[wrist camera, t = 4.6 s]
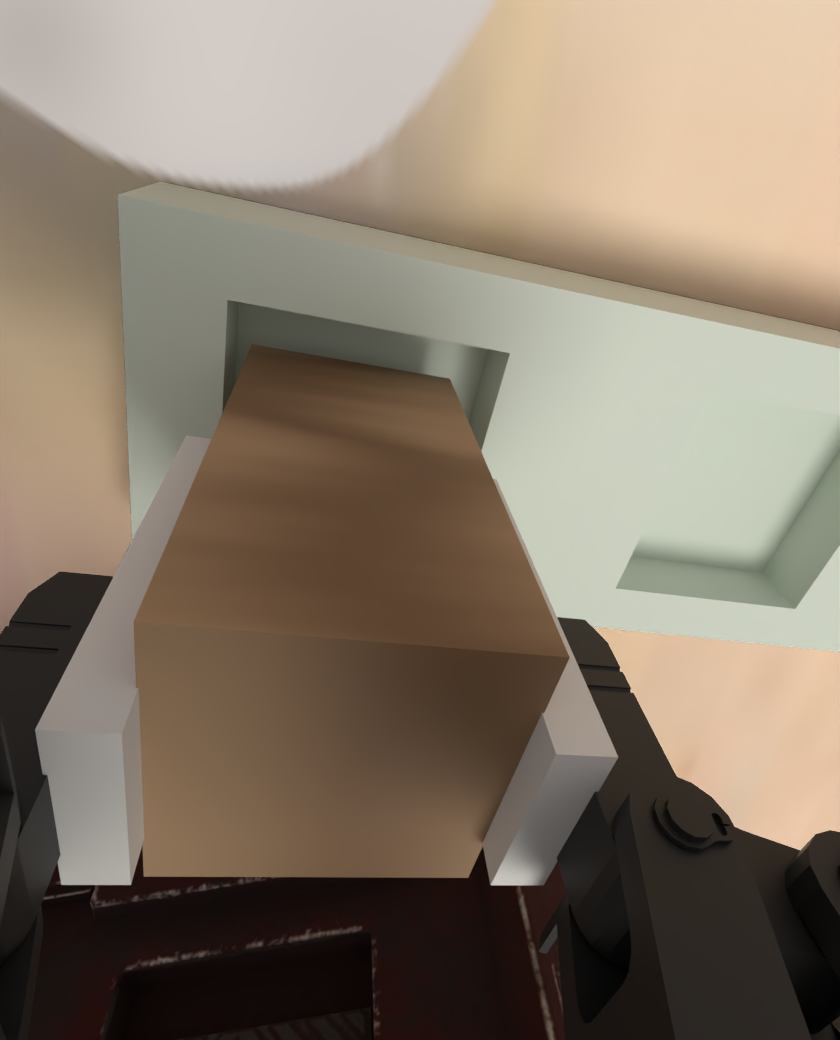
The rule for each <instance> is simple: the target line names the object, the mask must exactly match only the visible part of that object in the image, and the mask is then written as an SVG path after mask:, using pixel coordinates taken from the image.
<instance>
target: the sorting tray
mask: <svg viewBox="0 0 840 1040" xmlns="http://www.w3.org/2000/svg"><path fill="white" fill-rule="evenodd" d="M117 196H118V219H119V243H120V267H121V291H122V314H123V338H124V362H125V385H126V409H127V433H128V457H129V480H130V504H131V528H132V540H133V538H134V536H135V534H136V532H137V530H138V528H139V526H140V524H141V522H142V520H143V518H144V517H145V515H146V513H147V511H148V509H149V507H150V505H151V503H152V501H153V499H154V497H155V495H156V493H157V491H158V489H159V487H160V485H161V483H162V481H163V480H164V478H165V476H166V474H167V472H168V470H169V468H170V466H171V464H172V462H173V460H174V458H175V456H176V454H177V452H178V450H179V448H180V446H181V444H182V443H183V441H184V439H185V437H186V435H187V436H194V437H201V438H208V439H212V437H213V434H214V432H215V430H216V427H217V425H218V423H219V420H220V418H221V416H222V413H223V411H224V409H225V406H226V404H227V401H228V399H229V397H230V394H231V392H232V390H233V387H234V385H235V383H236V380H237V378H238V376H239V373H240V371H241V369H242V366H243V364H244V362H245V359H246V357H247V355H248V352H249V350H250V348H251V345H252V344H253V345H259V346H265V347H271V348H276V349H282V350H288V351H294V352H299V353H305V354H311V355H317V356H322V357H328V358H334V359H340V360H345V361H351V362H357V363H363V364H368V365H374V366H380V367H386V368H391V369H397V370H403V371H409V372H414V373H420V374H426V375H432V376H438V377H443V378H449V379H450V380H451V383H452V385H453V387H454V390H455V392H456V394H457V397H458V399H459V401H460V404H461V406H462V408H463V410H464V413H465V415H466V417H467V420H468V422H469V424H470V427H471V429H472V431H473V434H474V436H475V438H476V441H477V443H478V445H479V448H480V450H481V452H482V455H483V457H484V459H485V462H486V464H487V466H488V469H489V471H490V473H491V476H492V478H493V479H497V482H498V484H499V486H500V488H501V491H502V493H503V495H504V498H505V500H506V502H507V504H508V507H509V509H510V511H511V514H512V516H513V518H514V520H515V523H516V525H517V527H518V530H519V532H520V534H521V536H522V539H523V541H524V543H525V546H526V548H527V550H528V552H529V555H530V557H531V559H532V561H533V564H534V566H535V568H536V571H537V573H538V575H539V577H540V580H541V582H542V584H543V587H544V589H545V591H546V593H547V596H548V598H549V600H550V603H551V605H552V607H553V609H554V612H555V614H556V616H557V617H562V618H573V619H583V620H586V621H587V622H588V623H589V624H590V625H591V626H592V627H599V628H608V629H618V630H628V631H638V632H648V633H658V634H668V635H678V636H688V637H698V638H708V639H718V640H728V641H738V642H747V643H757V644H767V645H777V646H787V647H797V648H807V649H817V650H827V651H837V652H840V331H837V330H833V329H828V328H824V327H819V326H814V325H810V324H805V323H801V322H796V321H792V320H787V319H783V318H778V317H774V316H769V315H765V314H760V313H755V312H751V311H746V310H742V309H737V308H733V307H728V306H724V305H719V304H715V303H710V302H706V301H701V300H696V299H692V298H687V297H683V296H678V295H674V294H669V293H665V292H660V291H656V290H651V289H646V288H642V287H637V286H633V285H628V284H624V283H619V282H615V281H610V280H606V279H601V278H597V277H592V276H587V275H583V274H578V273H574V272H569V271H565V270H560V269H556V268H551V267H547V266H542V265H538V264H533V263H528V262H524V261H519V260H515V259H510V258H506V257H501V256H497V255H492V254H488V253H483V252H478V251H474V250H469V249H465V248H460V247H456V246H451V245H447V244H442V243H438V242H433V241H429V240H424V239H419V238H415V237H410V236H406V235H401V234H397V233H392V232H388V231H383V230H379V229H374V228H370V227H365V226H360V225H356V224H351V223H347V222H342V221H338V220H333V219H329V218H324V217H320V216H315V215H311V214H306V213H301V212H297V211H292V210H288V209H283V208H279V207H274V206H270V205H265V204H261V203H256V202H251V201H247V200H242V199H238V198H233V197H229V196H224V195H220V194H215V193H211V192H206V191H202V190H197V189H192V188H188V187H183V186H179V185H174V184H170V183H165V182H157V183H154V184H150V185H147V186H144V187H140V188H137V189H134V190H130V191H127V192H124V193H120V194H117Z"/></svg>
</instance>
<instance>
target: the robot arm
mask: <svg viewBox="0 0 840 1040" xmlns="http://www.w3.org/2000/svg"><path fill="white" fill-rule="evenodd" d="M210 441H211V439H208V438H201V437H194V436H187V435H186V437H185V439H184V441H183V443H182V444H181V446H180V448H179V450H178V452H177V454H176V456H175V458H174V460H173V462H172V464H171V466H170V468H169V470H168V472H167V474H166V476H165V478H164V480H163V481H162V483H161V485H160V487H159V489H158V491H157V493H156V495H155V497H154V499H153V501H152V503H151V505H150V507H149V509H148V511H147V513H146V515H145V517H144V518H143V520H142V522H141V524H140V526H139V528H138V530H137V532H136V534H135V536H134V538H133V540H132V542H131V544H130V546H129V548H128V550H127V552H126V554H125V555H124V557H123V559H122V561H121V563H120V565H119V567H118V569H117V571H116V573H115V575H114V577H111V576H101V575H90V574H80V573H69V572H59V573H57V574H56V575H54V576H53V577H52V578H50V579H49V580H47V581H46V582H44V583H43V584H41V585H40V586H38V587H37V588H35V589H34V590H33V591H31V592H30V593H28V595H27V596H26V598H25V599H24V601H23V602H22V604H21V605H20V606H19V608H18V609H17V611H16V612H15V614H14V615H13V617H12V618H11V620H10V624H9V627H8V626H6V627H5V629H4V630H3V632H2V633H1V634H0V1040H28V1034H29V1027H30V1020H31V1013H32V1006H33V999H34V992H35V985H36V978H37V971H38V964H39V957H40V950H41V943H42V937H43V918H42V908H41V903H42V901H43V898H44V895H45V893H46V890H47V888H48V885H49V883H50V880H51V877H52V875H53V872H54V870H55V867H56V865H57V862H58V868H59V874H60V880H61V885H131V883H132V880H133V876H134V872H135V869H136V865H137V862H138V858H139V855H140V851H141V847H142V844H143V840H144V820H143V793H142V766H141V740H140V713H139V688H136V672H135V647H134V619H135V617H136V615H137V612H138V610H139V608H140V605H141V603H142V601H143V598H144V596H145V594H146V591H147V589H148V587H149V584H150V582H151V580H152V577H153V575H154V573H155V570H156V568H157V565H158V563H159V561H160V558H161V556H162V554H163V551H164V549H165V547H166V544H167V542H168V540H169V537H170V535H171V533H172V530H173V528H174V526H175V523H176V521H177V519H178V516H179V514H180V512H181V509H182V507H183V505H184V502H185V500H186V498H187V495H188V493H189V491H190V488H191V486H192V483H193V481H194V479H195V476H196V474H197V472H198V469H199V467H200V465H201V462H202V460H203V458H204V455H205V453H206V451H207V448H208V446H209V444H210ZM493 480H494V483H495V485H496V487H497V490H498V492H499V494H500V497H501V499H502V501H503V504H504V506H505V508H506V510H507V513H508V515H509V517H510V520H511V522H512V524H513V527H514V529H515V531H516V534H517V536H518V538H519V541H520V543H521V545H522V548H523V550H524V552H525V555H526V557H527V559H528V562H529V564H530V566H531V569H532V571H533V573H534V576H535V578H536V580H537V583H538V585H539V587H540V590H541V592H542V594H543V597H544V599H545V601H546V604H547V606H548V608H549V610H550V613H551V615H552V617H553V620H554V622H555V624H556V627H557V629H558V631H559V634H560V636H561V638H562V641H563V643H564V645H565V648H566V650H567V652H568V655H569V657H570V658H569V660H568V662H567V665H566V667H565V669H564V671H563V673H562V675H561V678H560V680H559V682H558V684H557V686H556V688H555V691H554V693H553V695H552V697H551V699H550V701H549V704H548V706H547V708H546V710H545V712H544V713H542V714H541V716H540V719H539V721H538V723H537V725H536V727H535V729H534V732H533V734H532V736H531V738H530V740H529V743H528V745H527V747H526V749H525V751H524V753H523V756H522V758H521V760H520V762H519V764H518V767H517V769H516V771H515V773H514V775H513V777H512V780H511V782H510V784H509V786H508V788H507V791H506V793H505V795H504V797H503V799H502V801H501V804H500V806H499V808H498V810H497V812H496V815H495V817H494V819H493V821H492V823H491V825H490V828H489V830H488V832H487V834H486V836H485V839H484V841H483V843H482V844H483V849H484V854H485V860H486V865H487V870H488V875H489V880H490V885H544V884H545V882H546V880H547V879H548V877H549V875H550V873H551V872H552V870H553V868H554V867H555V865H556V863H557V861H558V865H559V868H560V871H561V875H562V878H563V882H564V885H565V889H566V892H567V893H566V894H565V896H564V898H563V899H562V901H561V902H560V904H559V906H558V907H557V909H556V910H555V912H554V914H553V915H552V917H551V918H550V920H549V922H548V923H547V925H546V926H545V928H544V929H543V931H542V933H541V936H540V943H539V950H538V952H541V953H545V954H547V952H548V951H549V949H550V948H551V946H552V945H553V943H554V942H555V940H556V938H557V937H558V950H559V952H558V957H559V964H560V978H561V992H562V1006H563V1019H564V1033H565V1040H840V832H836V831H831V830H830V831H826V832H823V833H819V834H816V835H815V836H814V837H813V838H812V839H811V840H810V841H809V842H808V843H807V844H806V845H805V846H804V847H803V849H802V850H801V851H800V850H797V849H794V848H791V847H788V846H785V845H783V844H780V843H777V842H774V841H771V840H768V839H765V838H762V837H760V836H757V835H754V834H751V833H748V832H745V831H743V830H740V829H738V828H736V827H734V825H733V823H732V822H731V820H730V818H729V816H728V815H727V814H726V813H725V811H724V810H723V809H722V808H721V807H720V806H719V805H718V804H717V803H716V801H715V800H714V799H713V798H712V797H711V796H709V795H708V794H706V793H705V792H704V791H702V790H701V789H699V788H698V787H697V786H695V785H694V784H692V783H690V782H688V781H685V780H683V779H680V778H678V777H677V776H676V774H675V773H674V771H673V769H672V767H671V765H670V763H669V761H668V759H667V757H666V756H665V754H664V752H663V750H662V748H661V746H660V744H659V742H658V740H657V738H656V736H655V734H654V732H653V730H652V728H651V726H650V724H649V723H648V721H647V719H646V717H645V715H644V713H643V711H642V709H641V707H640V705H639V703H638V701H637V699H636V697H635V695H634V693H631V692H630V689H631V688H630V686H629V684H628V682H627V680H626V678H625V676H624V674H623V672H620V666H619V664H618V662H617V660H616V658H615V657H614V655H613V653H612V651H611V649H610V647H609V645H608V643H607V642H606V641H605V640H604V639H603V638H602V637H601V635H600V634H599V633H598V632H597V631H596V630H595V629H594V628H593V627H592V626H591V625H590V624H589V623H588V622H587V621H586V620H583V619H573V618H562V617H557V616H556V614H555V612H554V609H553V607H552V605H551V603H550V600H549V598H548V596H547V593H546V591H545V589H544V587H543V584H542V582H541V580H540V577H539V575H538V573H537V571H536V568H535V566H534V564H533V561H532V559H531V557H530V555H529V552H528V550H527V548H526V546H525V543H524V541H523V539H522V536H521V534H520V532H519V530H518V527H517V525H516V523H515V520H514V518H513V516H512V514H511V511H510V509H509V507H508V504H507V502H506V500H505V498H504V495H503V493H502V491H501V488H500V486H499V484H498V482H497V479H493Z"/></svg>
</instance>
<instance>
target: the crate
mask: <svg viewBox="0 0 840 1040" xmlns="http://www.w3.org/2000/svg"><path fill="white" fill-rule="evenodd" d="M566 893H567V892H566V889H565V885H564V882H563V878H562V875H561V871H560V868H559V865H558V861H557V863H556V865H555V867H554V868H553V870H552V872H551V873H550V875H549V877H548V879H547V880H546V882H545V884H544V885H490V880H489V875H488V870H487V865H486V860H485V854H484V849H483V847H482V849H481V851H480V853H479V855H478V858H477V860H476V862H475V864H474V866H473V868H472V871H471V873H470V875H469V877H468V878H379V877H144V872H143V847H141V851H140V855H139V858H138V862H137V865H136V869H135V872H134V876H133V880H132V883H131V885H61V880H60V874H59V868H58V862H57V865H56V867H55V870H54V872H53V875H52V877H51V880H50V883H49V885H48V888H47V890H46V893H45V895H44V898H43V901H42V903H41V908H42V918H43V937H42V943H41V950H40V957H39V964H38V971H37V978H36V985H35V992H34V999H33V1006H32V1013H31V1020H30V1027H29V1034H28V1040H565V1033H564V1019H563V1006H562V992H561V978H560V964H559V957H558V952H559V950H558V937H557V938H556V940H555V942H554V943H553V945H552V946H551V948H550V949H549V951H548V952H547V954H545V953H541V952H538V950H539V943H540V936H541V933H542V931H543V929H544V928H545V926H546V925H547V923H548V922H549V920H550V918H551V917H552V915H553V914H554V912H555V910H556V909H557V907H558V906H559V904H560V902H561V901H562V899H563V898H564V896H565V894H566Z"/></svg>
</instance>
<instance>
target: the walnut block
mask: <svg viewBox="0 0 840 1040" xmlns="http://www.w3.org/2000/svg"><path fill="white" fill-rule="evenodd" d="M134 647H135V672H136V688H139V713H140V740H141V766H142V793H143V820H144V840H143V844H142V847H143V872H144V877H379V878H468V877H469V875H470V873H471V871H472V868H473V866H474V864H475V862H476V860H477V858H478V855H479V853H480V851H481V849H482V847H483V844H482V843H483V841H484V839H485V836H486V834H487V832H488V830H489V828H490V825H491V823H492V821H493V819H494V817H495V815H496V812H497V810H498V808H499V806H500V804H501V801H502V799H503V797H504V795H505V793H506V791H507V788H508V786H509V784H510V782H511V780H512V777H513V775H514V773H515V771H516V769H517V767H518V764H519V762H520V760H521V758H522V756H523V753H524V751H525V749H526V747H527V745H528V743H529V740H530V738H531V736H532V734H533V732H534V729H535V727H536V725H537V723H538V721H539V719H540V716H541V714H542V713H544V712H545V710H546V708H547V706H548V704H549V701H550V699H551V697H552V695H553V693H554V691H555V688H556V686H557V684H558V682H559V680H560V678H561V675H562V673H563V671H564V669H565V667H566V665H567V662H568V660H569V658H570V657H569V655H568V652H567V650H566V648H565V645H564V643H563V641H562V638H561V636H560V634H559V631H558V629H557V627H556V624H555V622H554V620H553V617H552V615H551V613H550V610H549V608H548V606H547V604H546V601H545V599H544V597H543V594H542V592H541V590H540V587H539V585H538V583H537V580H536V578H535V576H534V573H533V571H532V569H531V566H530V564H529V562H528V559H527V557H526V555H525V552H524V550H523V548H522V545H521V543H520V541H519V538H518V536H517V534H516V531H515V529H514V527H513V524H512V522H511V520H510V517H509V515H508V513H507V510H506V508H505V506H504V504H503V501H502V499H501V497H500V494H499V492H498V490H497V487H496V485H495V483H494V480H493V478H492V476H491V473H490V471H489V469H488V466H487V464H486V462H485V459H484V457H483V455H482V452H481V450H480V448H479V445H478V443H477V441H476V438H475V436H474V434H473V431H472V429H471V427H470V424H469V422H468V420H467V417H466V415H465V413H464V410H463V408H462V406H461V404H460V401H459V399H458V397H457V394H456V392H455V390H454V387H453V385H452V383H451V380H450V379H449V378H443V377H438V376H432V375H426V374H420V373H414V372H409V371H403V370H397V369H391V368H386V367H380V366H374V365H368V364H363V363H357V362H351V361H345V360H340V359H334V358H328V357H322V356H317V355H311V354H305V353H299V352H294V351H288V350H282V349H276V348H271V347H265V346H259V345H253V344H252V345H251V348H250V350H249V352H248V355H247V357H246V359H245V362H244V364H243V366H242V369H241V371H240V373H239V376H238V378H237V380H236V383H235V385H234V387H233V390H232V392H231V394H230V397H229V399H228V401H227V404H226V406H225V409H224V411H223V413H222V416H221V418H220V420H219V423H218V425H217V427H216V430H215V432H214V434H213V437H212V439H211V441H210V444H209V446H208V448H207V451H206V453H205V455H204V458H203V460H202V462H201V465H200V467H199V469H198V472H197V474H196V476H195V479H194V481H193V483H192V486H191V488H190V491H189V493H188V495H187V498H186V500H185V502H184V505H183V507H182V509H181V512H180V514H179V516H178V519H177V521H176V523H175V526H174V528H173V530H172V533H171V535H170V537H169V540H168V542H167V544H166V547H165V549H164V551H163V554H162V556H161V558H160V561H159V563H158V565H157V568H156V570H155V573H154V575H153V577H152V580H151V582H150V584H149V587H148V589H147V591H146V594H145V596H144V598H143V601H142V603H141V605H140V608H139V610H138V612H137V615H136V617H135V619H134Z"/></svg>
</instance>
